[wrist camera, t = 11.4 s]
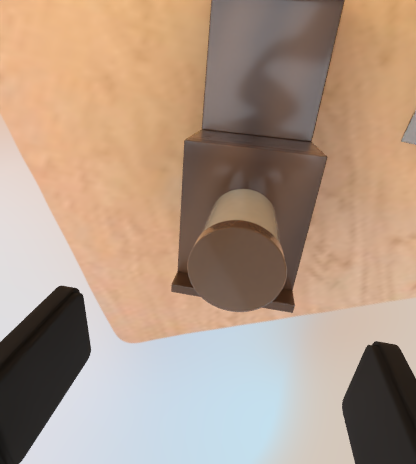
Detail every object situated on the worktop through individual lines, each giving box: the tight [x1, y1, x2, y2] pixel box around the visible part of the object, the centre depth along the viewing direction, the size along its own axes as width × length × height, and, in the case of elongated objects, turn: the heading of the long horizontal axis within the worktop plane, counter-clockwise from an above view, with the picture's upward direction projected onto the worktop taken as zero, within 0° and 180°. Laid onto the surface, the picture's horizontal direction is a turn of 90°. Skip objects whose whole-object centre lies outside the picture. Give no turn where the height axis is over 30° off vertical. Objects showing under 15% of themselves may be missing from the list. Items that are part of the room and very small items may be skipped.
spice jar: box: [187, 189, 287, 312], centre depth 20 cm, size 6×6×8 cm
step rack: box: [171, 0, 344, 313], centre depth 25 cm, size 10×23×13 cm, turn 175°
